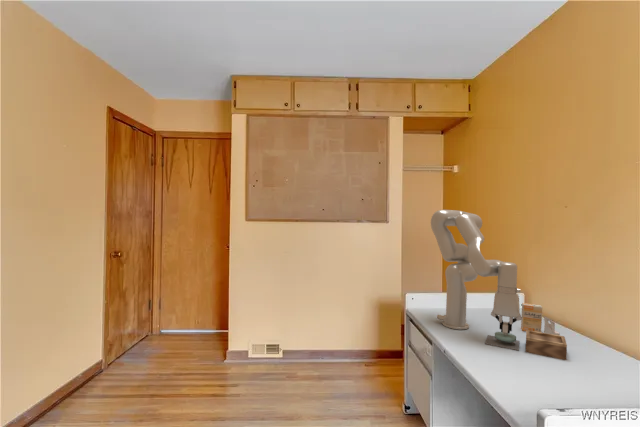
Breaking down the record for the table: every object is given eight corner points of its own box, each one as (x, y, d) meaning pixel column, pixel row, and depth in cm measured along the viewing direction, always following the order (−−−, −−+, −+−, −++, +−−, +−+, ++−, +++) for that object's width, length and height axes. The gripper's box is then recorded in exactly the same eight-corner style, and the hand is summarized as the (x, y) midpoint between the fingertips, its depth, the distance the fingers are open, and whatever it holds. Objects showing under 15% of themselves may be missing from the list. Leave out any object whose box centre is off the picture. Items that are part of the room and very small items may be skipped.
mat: (484, 344, 156) (484, 343, 156) (487, 335, 167) (487, 334, 167) (518, 350, 149) (518, 349, 149) (519, 341, 160) (519, 340, 160)
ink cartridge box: (549, 336, 169) (549, 316, 169) (559, 345, 158) (560, 323, 158) (543, 336, 170) (544, 315, 170) (553, 344, 159) (554, 322, 159)
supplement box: (522, 331, 176) (523, 304, 176) (520, 328, 180) (521, 302, 180) (541, 333, 173) (542, 306, 173) (539, 330, 177) (540, 304, 177)
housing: (525, 351, 148) (526, 337, 148) (525, 343, 159) (526, 329, 159) (566, 360, 141) (566, 344, 141) (563, 350, 151) (564, 336, 151)
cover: (495, 334, 163) (495, 319, 163) (516, 337, 159) (516, 323, 159) (493, 339, 156) (494, 324, 156) (515, 343, 152) (516, 327, 152)
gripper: (527, 291, 157) (526, 333, 157) (487, 286, 165) (486, 326, 165) (527, 294, 150) (526, 338, 150) (486, 289, 158) (484, 330, 158)
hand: (505, 331), depth 157 cm, fingers closed on cover
